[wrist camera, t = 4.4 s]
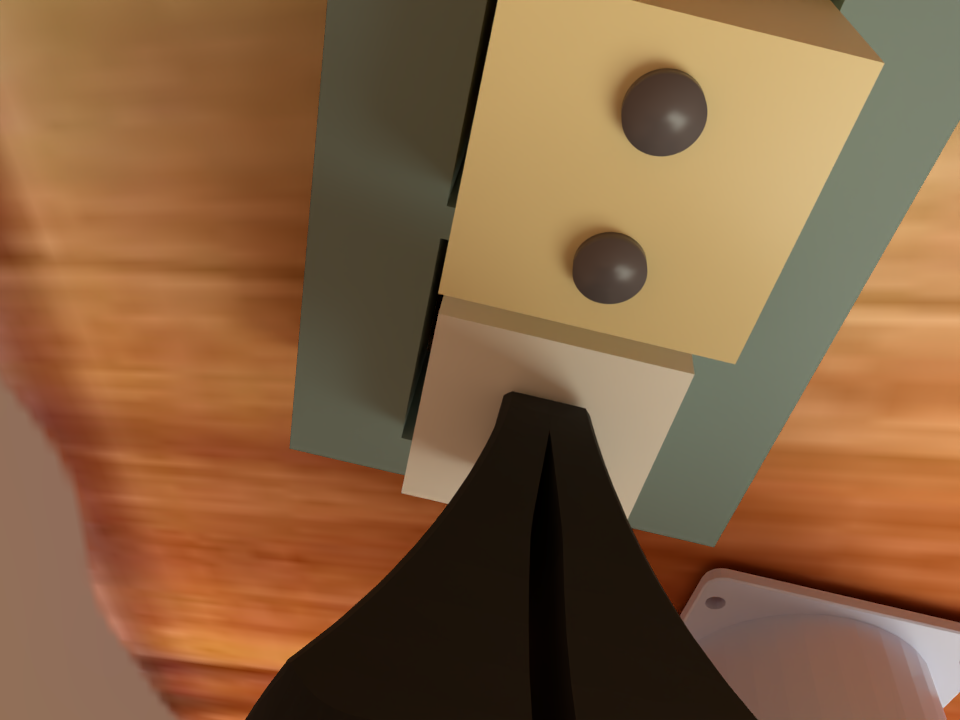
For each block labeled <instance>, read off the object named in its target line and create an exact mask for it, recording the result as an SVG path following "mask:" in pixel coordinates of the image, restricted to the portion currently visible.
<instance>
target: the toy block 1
mask: <svg viewBox="0 0 960 720" xmlns="http://www.w3.org/2000/svg"><path fill="white" fill-rule="evenodd" d="M884 64H885V63H884V62H883V61H882V59H881V58H880V57H879V56H878V55H877V54H876V53H875V51H874V50H873V49H872V48H871V47H870V46H869V44H868V43H867V42H866V41H865V40H864V39H863V37H862V36H861V35H860V34H859V33H858V32H857V31H856V29H855V28H854V27H853V26H852V25H851V24H850V22H849V21H848V20H847V19H846V18H845V17H844V16H843V14H842V13H841V12H840V11H839V10H838V9H837V7H836V6H835V5H834V4H833V3H832V2H831V1H830V0H498V2H497V7H496V12H495V17H494V22H493V26H492V31H491V36H490V41H489V46H488V51H487V56H486V61H485V66H484V71H483V76H482V80H481V85H480V90H479V95H478V100H477V105H476V110H475V115H474V120H473V125H472V130H471V134H470V139H469V144H468V149H467V154H466V159H465V164H464V169H463V174H462V179H461V184H460V188H459V193H458V198H457V203H456V208H455V213H454V218H453V223H452V228H451V233H450V237H449V242H448V247H447V252H446V257H445V262H444V267H443V272H442V277H441V282H440V287H439V291H438V294H442V295H446V296H450V297H454V298H459V299H463V300H467V301H471V302H475V303H480V304H484V305H488V306H492V307H496V308H501V309H505V310H509V311H513V312H517V313H522V314H526V315H530V316H534V317H538V318H543V319H547V320H551V321H555V322H559V323H564V324H568V325H572V326H576V327H580V328H585V329H589V330H593V331H597V332H601V333H606V334H610V335H614V336H618V337H622V338H627V339H631V340H635V341H639V342H643V343H648V344H652V345H656V346H660V347H664V348H669V349H673V350H677V351H681V352H685V353H690V354H694V355H698V356H702V357H706V358H711V359H715V360H719V361H723V362H727V363H732V364H736V362H737V360H738V358H739V356H740V354H741V352H742V350H743V348H744V346H745V344H746V342H747V340H748V338H749V336H750V334H751V332H752V330H753V328H754V326H755V324H756V322H757V320H758V318H759V316H760V313H761V311H762V309H763V307H764V305H765V303H766V301H767V299H768V297H769V295H770V293H771V291H772V289H773V287H774V285H775V283H776V281H777V279H778V277H779V275H780V273H781V271H782V269H783V267H784V265H785V263H786V261H787V259H788V257H789V255H790V253H791V251H792V249H793V247H794V245H795V243H796V241H797V239H798V237H799V235H800V233H801V231H802V229H803V227H804V225H805V223H806V221H807V219H808V217H809V215H810V213H811V211H812V209H813V207H814V205H815V203H816V201H817V199H818V197H819V195H820V193H821V191H822V188H823V186H824V184H825V182H826V180H827V178H828V176H829V174H830V172H831V170H832V168H833V166H834V164H835V162H836V160H837V158H838V156H839V154H840V152H841V150H842V148H843V146H844V144H845V142H846V140H847V138H848V136H849V134H850V132H851V130H852V128H853V126H854V124H855V122H856V120H857V118H858V116H859V114H860V112H861V110H862V108H863V106H864V104H865V102H866V100H867V98H868V96H869V94H870V92H871V90H872V88H873V86H874V84H875V82H876V80H877V78H878V76H879V74H880V72H881V70H882V68H883V66H884Z"/></svg>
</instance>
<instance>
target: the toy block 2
mask: <svg viewBox="0 0 960 720" xmlns="http://www.w3.org/2000/svg"><path fill="white" fill-rule="evenodd" d="M694 375H695V374H694V366H693V359H692V354H690V353H685V352H681V351H677V350H673V349H669V348H664V347H660V346H656V345H652V344H648V343H643V342H639V341H635V340H631V339H627V338H622V337H618V336H614V335H610V334H606V333H601V332H597V331H593V330H589V329H585V328H580V327H576V326H572V325H568V324H564V323H559V322H555V321H551V320H547V319H543V318H538V317H534V316H530V315H526V314H522V313H517V312H513V311H509V310H505V309H501V308H496V307H492V306H488V305H484V304H480V303H475V302H471V301H467V300H463V299H459V298H454V297H450V296H446V295H444V297H443V300H442V303H441V307H440V310H439V314H438V318H437V323H436V328H435V333H434V338H433V343H432V347H431V352H430V357H429V362H428V367H427V371H426V376H425V381H424V386H423V391H422V395H421V400H420V405H419V410H418V415H417V420H416V424H415V429H414V434H413V439H412V444H411V448H410V453H409V458H408V463H407V468H406V472H405V477H404V482H403V487H402V492H401V493H403V494H408V495H412V496H416V497H420V498H425V499H429V500H433V501H438V502H442V503H446V504H448V503H449V502H450V501H451V499H452V498H453V496H454V495H455V493H456V492H457V490H458V489H459V488H460V486H461V485H462V483H463V482H464V480H465V479H466V477H467V476H468V474H469V473H470V471H471V469H472V468H473V466H474V464H475V463H476V461H477V459H478V457H479V456H480V454H481V452H482V450H483V449H484V447H485V445H486V443H487V441H488V439H489V437H490V435H491V433H492V431H493V429H494V427H495V424H496V420H497V417H498V413H499V410H500V406H501V403H502V399H503V396H504V394H507V393H509V392H511V391H514V392H518V393H523V394H527V395H531V396H535V397H540V398H544V399H548V400H552V401H557V402H561V403H565V404H570V405H574V406H578V407H582V408H586V410H587V411H588V413H589V415H590V417H591V421H592V425H593V428H594V432H595V435H596V438H597V441H598V444H599V447H600V451H601V454H602V456H603V459H604V462H605V465H606V468H607V470H608V473H609V476H610V478H611V481H612V484H613V486H614V489H615V491H616V493H617V496H618V498H619V500H620V503H621V505H622V508H623V510H624V512H625V515H626V517H627V519H628V518H629V515H630V513H631V511H632V509H633V507H634V505H635V502H636V500H637V498H638V496H639V494H640V492H641V489H642V487H643V485H644V483H645V481H646V479H647V476H648V474H649V472H650V470H651V468H652V466H653V463H654V461H655V459H656V457H657V455H658V453H659V450H660V448H661V446H662V444H663V442H664V440H665V438H666V435H667V433H668V431H669V429H670V427H671V425H672V422H673V420H674V418H675V416H676V414H677V412H678V409H679V407H680V405H681V403H682V401H683V399H684V396H685V394H686V392H687V390H688V388H689V386H690V383H691V381H692V379H693V377H694Z"/></svg>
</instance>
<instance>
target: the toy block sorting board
mask: <svg viewBox="0 0 960 720" xmlns="http://www.w3.org/2000/svg"><path fill="white" fill-rule="evenodd" d="M830 1H831V2H832V3H833V4H834V5H835V6H836V7H837V9H838V10H839V11H840V12H841V13H842V14H843V16H844V17H845V18H846V19H847V20H848V21H849V22H850V24H851V25H852V26H853V27H854V28H855V29H856V31H857V32H858V33H859V34H860V35H861V36H862V37H863V39H864V40H865V41H866V42H867V43H868V44H869V46H870V47H871V48H872V49H873V50H874V51H875V53H876V54H877V55H878V56H879V57H880V58H881V59H882V61H883V62H884V63H885V64H884V66H883V68H882V70H881V72H880V74H879V76H878V78H877V80H876V82H875V84H874V86H873V88H872V90H871V92H870V94H869V96H868V98H867V100H866V102H865V104H864V106H863V108H862V110H861V112H860V114H859V116H858V118H857V120H856V122H855V124H854V126H853V128H852V130H851V132H850V134H849V136H848V138H847V140H846V142H845V144H844V146H843V148H842V150H841V152H840V154H839V156H838V158H837V160H836V162H835V164H834V166H833V168H832V170H831V172H830V174H829V176H828V178H827V180H826V182H825V184H824V186H823V188H822V191H821V193H820V195H819V197H818V199H817V201H816V203H815V205H814V207H813V209H812V211H811V213H810V215H809V217H808V219H807V221H806V223H805V225H804V227H803V229H802V231H801V233H800V235H799V237H798V239H797V241H796V243H795V245H794V247H793V249H792V251H791V253H790V255H789V257H788V259H787V261H786V263H785V265H784V267H783V269H782V271H781V273H780V275H779V277H778V279H777V281H776V283H775V285H774V287H773V289H772V291H771V293H770V295H769V297H768V299H767V301H766V303H765V305H764V307H763V309H762V311H761V313H760V316H759V318H758V320H757V322H756V324H755V326H754V328H753V330H752V332H751V334H750V336H749V338H748V340H747V342H746V344H745V346H744V348H743V350H742V352H741V354H740V356H739V358H738V360H737V362H736V364H732V363H727V362H723V361H719V360H715V359H711V358H706V357H702V356H698V355H694V354H692V359H693V366H694V374H695V375H694V377H693V379H692V381H691V383H690V386H689V388H688V390H687V392H686V394H685V396H684V399H683V401H682V403H681V405H680V407H679V409H678V412H677V414H676V416H675V418H674V420H673V422H672V425H671V427H670V429H669V431H668V433H667V435H666V438H665V440H664V442H663V444H662V446H661V448H660V450H659V453H658V455H657V457H656V459H655V461H654V463H653V466H652V468H651V470H650V472H649V474H648V476H647V479H646V481H645V483H644V485H643V487H642V489H641V492H640V494H639V496H638V498H637V500H636V502H635V505H634V507H633V509H632V511H631V513H630V515H629V518H628V521H629V524H630V526H631V528H633V529H638V530H642V531H646V532H651V533H655V534H659V535H664V536H668V537H672V538H676V539H681V540H685V541H689V542H694V543H698V544H702V545H707V546H711V547H715V545H716V543H717V541H718V540H719V538H720V536H721V534H722V533H723V531H724V529H725V527H726V526H727V524H728V522H729V520H730V519H731V517H732V515H733V513H734V512H735V510H736V508H737V507H738V505H739V503H740V501H741V500H742V498H743V496H744V494H745V493H746V491H747V489H748V487H749V486H750V484H751V482H752V480H753V479H754V477H755V475H756V473H757V472H758V470H759V468H760V466H761V465H762V463H763V461H764V460H765V458H766V456H767V454H768V453H769V451H770V449H771V447H772V446H773V444H774V442H775V440H776V439H777V437H778V435H779V433H780V432H781V430H782V428H783V426H784V425H785V423H786V421H787V420H788V418H789V416H790V414H791V413H792V411H793V409H794V407H795V406H796V404H797V402H798V400H799V399H800V397H801V395H802V393H803V392H804V390H805V388H806V386H807V385H808V383H809V381H810V379H811V378H812V376H813V374H814V373H815V371H816V369H817V367H818V366H819V364H820V362H821V360H822V359H823V357H824V355H825V353H826V352H827V350H828V348H829V346H830V345H831V343H832V341H833V339H834V338H835V336H836V334H837V333H838V331H839V329H840V327H841V326H842V324H843V322H844V320H845V319H846V317H847V315H848V313H849V312H850V310H851V308H852V306H853V305H854V303H855V301H856V299H857V298H858V296H859V294H860V293H861V291H862V289H863V287H864V286H865V284H866V282H867V280H868V279H869V277H870V275H871V273H872V272H873V270H874V268H875V266H876V265H877V263H878V261H879V259H880V258H881V256H882V254H883V252H884V251H885V249H886V247H887V246H888V244H889V242H890V240H891V239H892V237H893V235H894V233H895V232H896V230H897V228H898V226H899V225H900V223H901V221H902V219H903V218H904V216H905V214H906V212H907V211H908V209H909V207H910V206H911V204H912V202H913V200H914V199H915V197H916V195H917V193H918V192H919V190H920V188H921V186H922V185H923V183H924V181H925V179H926V178H927V176H928V174H929V172H930V171H931V169H932V167H933V166H934V164H935V162H936V160H937V159H938V157H939V155H940V153H941V152H942V150H943V148H944V146H945V145H946V143H947V141H948V139H949V138H950V136H951V134H952V132H953V131H954V129H955V127H956V125H957V124H958V122H959V120H960V0H830ZM497 2H498V0H328V1H327V13H326V25H325V36H324V48H323V60H322V72H321V84H320V95H319V107H318V119H317V131H316V143H315V154H314V166H313V178H312V190H311V202H310V213H309V225H308V237H307V249H306V261H305V273H304V284H303V296H302V308H301V320H300V332H299V343H298V355H297V367H296V379H295V391H294V402H293V414H292V426H291V438H290V449H294V450H298V451H302V452H307V453H311V454H315V455H320V456H324V457H328V458H333V459H337V460H341V461H345V462H350V463H354V464H358V465H363V466H367V467H371V468H376V469H380V470H384V471H388V472H393V473H397V474H401V475H405V472H406V468H407V463H408V458H409V453H410V448H411V444H412V439H413V434H414V429H415V424H416V420H417V415H418V410H419V405H420V400H421V395H422V391H423V386H424V381H425V376H426V371H427V367H428V362H429V357H430V352H431V351H429V350H427V348H428V343H429V338H430V333H431V328H432V323H433V318H434V313H435V309H436V304H437V299H438V291H439V287H440V282H441V277H442V272H443V267H444V262H445V257H446V252H447V247H448V242H449V237H450V233H451V228H452V223H453V218H454V213H455V208H456V203H457V198H458V193H459V188H460V184H461V179H462V174H463V169H464V164H465V159H466V154H467V149H468V144H469V139H470V134H471V130H472V125H473V120H474V115H475V110H476V105H477V100H478V95H479V90H480V85H481V80H482V76H483V71H484V66H485V61H486V56H487V51H488V46H489V41H490V36H491V31H492V26H493V22H494V17H495V12H496V7H497Z"/></svg>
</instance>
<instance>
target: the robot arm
mask: <svg viewBox="0 0 960 720" xmlns="http://www.w3.org/2000/svg"><path fill="white" fill-rule="evenodd" d="M959 692H960V623H959V622H955V621H951V620H946V619H942V618H938V617H933V616H929V615H925V614H920V613H916V612H912V611H908V610H903V609H899V608H895V607H890V606H886V605H882V604H877V603H873V602H869V601H864V600H860V599H856V598H851V597H847V596H843V595H839V594H834V593H830V592H826V591H821V590H817V589H813V588H808V587H804V586H800V585H795V584H791V583H787V582H783V581H778V580H774V579H770V578H765V577H761V576H757V575H752V574H748V573H744V572H739V571H735V570H731V569H726V568H717V569H713V570H710V571H708V572H707V573H706V574H705V575H704V576H703V577H702V578H701V580H700V582H699V584H698V585H697V587H696V589H695V591H694V592H693V594H692V596H691V597H690V599H689V601H688V603H687V604H686V606H685V608H684V609H683V611H682V613H681V615H680V616H679V614H678V613H677V611H676V610H675V608H674V606H673V605H672V603H671V601H670V600H669V598H668V596H667V595H666V593H665V591H664V590H663V588H662V586H661V584H660V583H659V581H658V579H657V577H656V576H655V574H654V572H653V570H652V568H651V566H650V564H649V562H648V561H647V559H646V557H645V555H644V553H643V551H642V549H641V547H640V545H639V543H638V541H637V539H636V537H635V535H634V532H633V530H632V528H631V526H630V524H629V521H628V519H627V517H626V515H625V512H624V510H623V508H622V505H621V503H620V500H619V498H618V496H617V493H616V491H615V489H614V486H613V484H612V481H611V478H610V476H609V473H608V470H607V468H606V465H605V462H604V459H603V456H602V454H601V451H600V447H599V444H598V441H597V438H596V435H595V432H594V428H593V425H592V421H591V417H590V415H589V413H588V411H587V410H586V408H582V407H578V406H574V405H570V404H565V403H561V402H557V401H552V400H548V399H544V398H540V397H535V396H531V395H527V394H523V393H518V392H514V391H511V392H509V393H507V394H504V396H503V399H502V403H501V406H500V410H499V413H498V417H497V420H496V424H495V427H494V429H493V431H492V433H491V435H490V437H489V439H488V441H487V443H486V445H485V447H484V449H483V450H482V452H481V454H480V456H479V457H478V459H477V461H476V463H475V464H474V466H473V468H472V469H471V471H470V473H469V474H468V476H467V477H466V479H465V480H464V482H463V483H462V485H461V486H460V488H459V489H458V490H457V492H456V493H455V495H454V496H453V498H452V499H451V501H450V502H449V503H448V505H447V506H446V508H445V509H444V510H443V512H442V513H441V514H440V515H439V517H438V518H437V519H436V521H435V522H434V523H433V524H432V526H431V527H430V528H429V529H428V531H427V532H426V533H425V534H424V535H423V537H422V538H421V539H420V540H419V541H418V542H417V544H416V545H415V546H414V547H413V548H412V549H411V550H410V551H409V552H408V554H407V555H406V556H405V557H404V558H403V559H402V560H401V561H400V562H399V563H398V564H397V565H396V566H395V568H394V569H393V570H392V571H391V572H390V573H389V574H388V575H387V576H386V577H385V578H384V579H383V580H382V581H381V582H380V583H379V584H378V585H377V586H376V587H375V588H373V589H372V590H371V591H370V592H369V593H368V594H367V595H366V596H365V597H364V598H362V599H361V600H360V601H359V602H358V603H357V604H356V605H355V606H354V607H352V608H351V609H350V610H349V611H348V612H347V613H346V614H345V615H344V616H343V617H341V618H340V619H339V620H338V621H337V622H335V623H334V624H333V625H332V626H331V627H329V628H328V629H327V630H325V631H324V632H323V633H322V634H320V635H319V636H318V637H316V638H315V639H314V640H312V641H311V642H310V643H309V644H307V645H306V646H305V647H303V648H302V649H301V650H300V651H298V652H297V653H296V654H294V655H293V656H292V657H290V658H289V659H288V660H287V661H286V663H285V664H284V666H283V667H282V668H281V669H280V671H279V672H278V673H277V675H276V676H275V677H274V679H273V680H272V681H271V683H270V684H269V685H268V687H267V688H266V690H265V691H264V692H263V694H262V695H261V697H260V698H259V699H258V701H257V702H256V704H255V705H254V707H253V708H252V710H251V711H250V713H249V715H248V716H247V718H246V720H947V719H946V716H945V713H944V710H943V708H944V707H945V706H946V705H947V704H948V703H949V702H950V701H951V700H952V699H953V698H954V697H955V696H956V695H957V694H958V693H959Z"/></svg>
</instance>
